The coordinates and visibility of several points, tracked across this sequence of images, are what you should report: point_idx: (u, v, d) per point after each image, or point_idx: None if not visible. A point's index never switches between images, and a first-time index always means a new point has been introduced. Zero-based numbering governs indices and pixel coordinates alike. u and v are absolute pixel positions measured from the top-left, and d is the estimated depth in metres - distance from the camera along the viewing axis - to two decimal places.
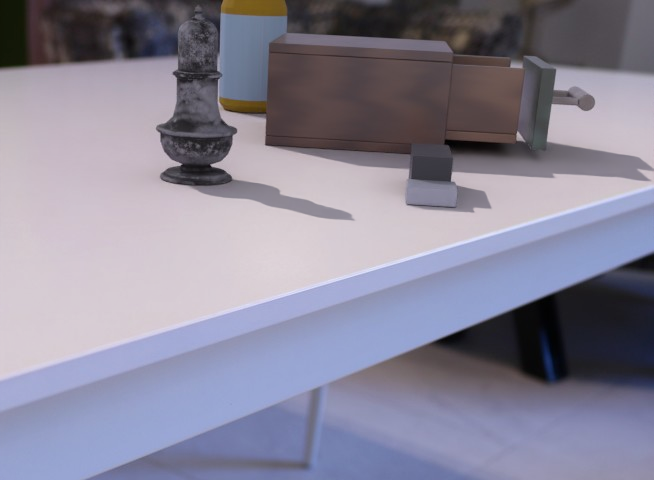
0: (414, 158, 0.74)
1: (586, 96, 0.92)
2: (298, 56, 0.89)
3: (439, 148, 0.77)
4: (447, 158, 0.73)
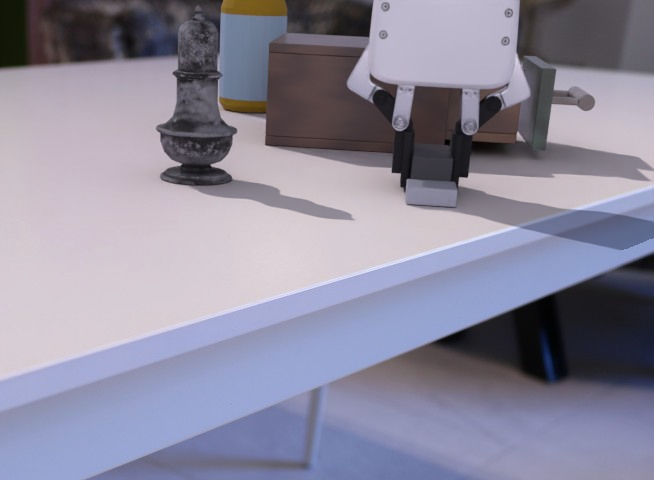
0: (414, 158, 0.74)
1: (586, 96, 0.92)
2: (298, 56, 0.89)
3: (439, 148, 0.77)
4: (447, 158, 0.73)
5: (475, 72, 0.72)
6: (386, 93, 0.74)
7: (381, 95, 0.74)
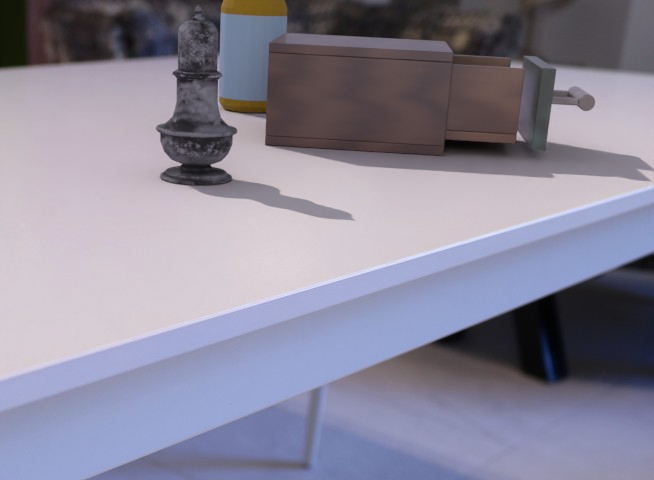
0: None
1: (586, 96, 0.92)
2: (298, 56, 0.89)
3: None
4: None
5: None
6: None
7: None
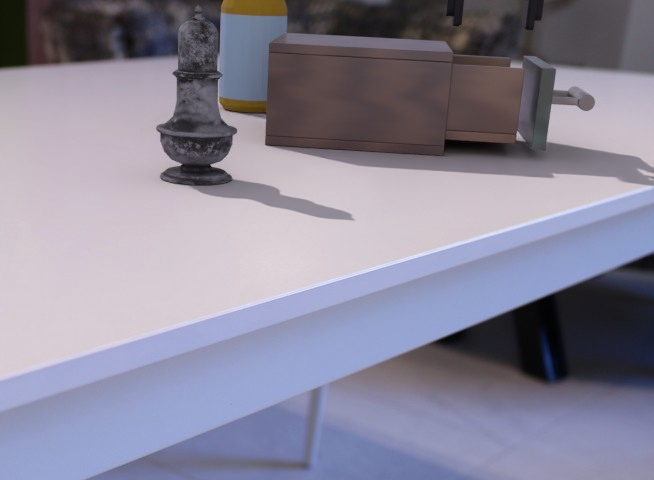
0: None
1: (586, 96, 0.92)
2: (298, 56, 0.89)
3: None
4: None
5: None
6: None
7: None
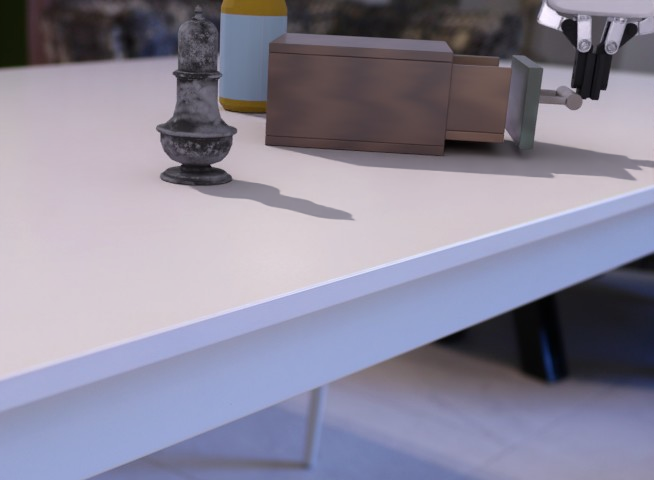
0: None
1: (573, 95, 0.92)
2: (298, 56, 0.89)
3: None
4: None
5: (634, 3, 0.90)
6: (572, 21, 0.92)
7: (569, 23, 0.92)
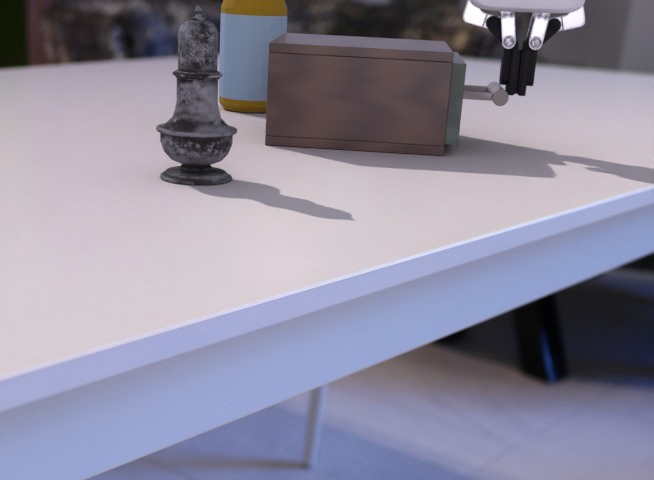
0: None
1: (499, 91, 0.92)
2: (298, 56, 0.89)
3: None
4: None
5: None
6: (496, 17, 0.93)
7: (493, 20, 0.93)
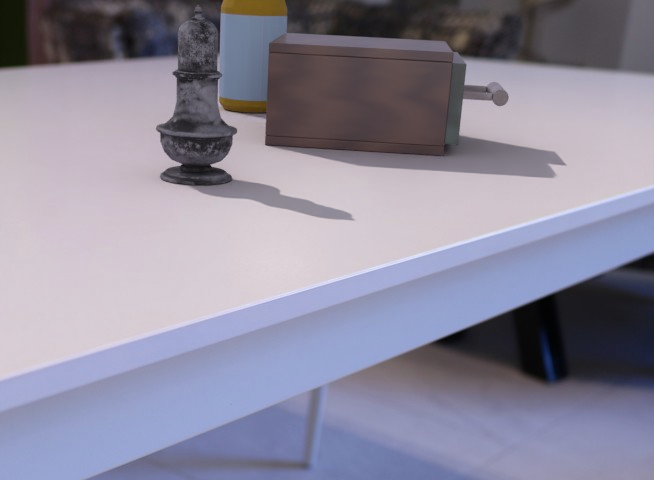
0: None
1: (499, 91, 0.92)
2: (298, 56, 0.89)
3: None
4: None
5: None
6: None
7: None
